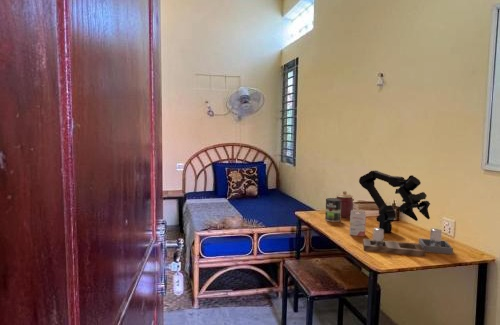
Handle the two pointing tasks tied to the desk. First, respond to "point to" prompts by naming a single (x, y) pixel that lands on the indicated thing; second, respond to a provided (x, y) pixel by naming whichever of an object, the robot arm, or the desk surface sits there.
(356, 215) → the ink cartridge box
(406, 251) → the divided tray
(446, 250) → the tray
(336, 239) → the desk surface
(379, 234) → the block
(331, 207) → the coffee can
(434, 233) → the loose billet
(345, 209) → the canister
